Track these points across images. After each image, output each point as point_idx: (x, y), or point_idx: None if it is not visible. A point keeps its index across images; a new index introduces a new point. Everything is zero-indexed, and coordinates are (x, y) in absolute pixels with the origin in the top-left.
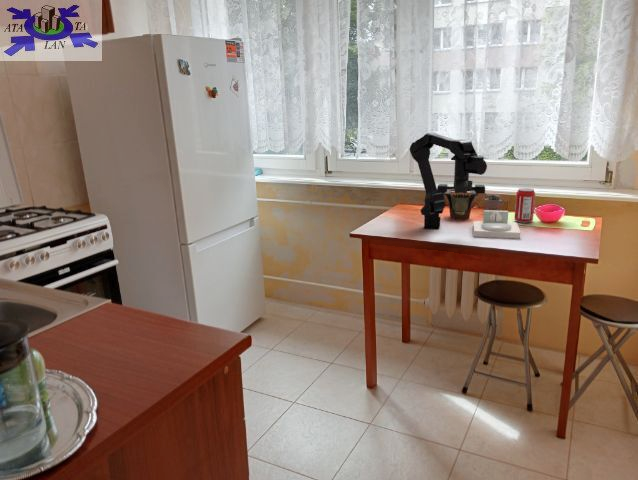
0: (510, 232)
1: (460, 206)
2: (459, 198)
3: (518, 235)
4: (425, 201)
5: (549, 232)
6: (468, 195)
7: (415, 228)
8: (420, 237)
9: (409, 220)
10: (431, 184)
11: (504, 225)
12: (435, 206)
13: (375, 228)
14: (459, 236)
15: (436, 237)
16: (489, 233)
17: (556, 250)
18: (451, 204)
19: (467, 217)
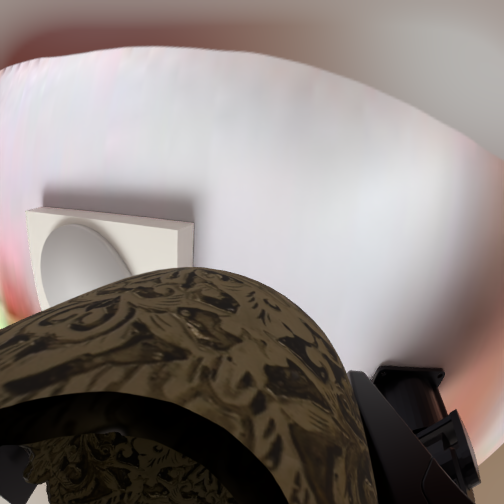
0: (44, 213)
1: (189, 274)
2: (32, 435)
3: (37, 208)
4: (473, 495)
5: (10, 278)
6: (46, 489)
7: (471, 371)
8: (498, 208)
9: None
10: None
11: (59, 299)
12: (442, 464)
13: None
14: (279, 224)
15: (426, 202)
16: (110, 217)
17: (9, 99)
18: (374, 421)
19: None
